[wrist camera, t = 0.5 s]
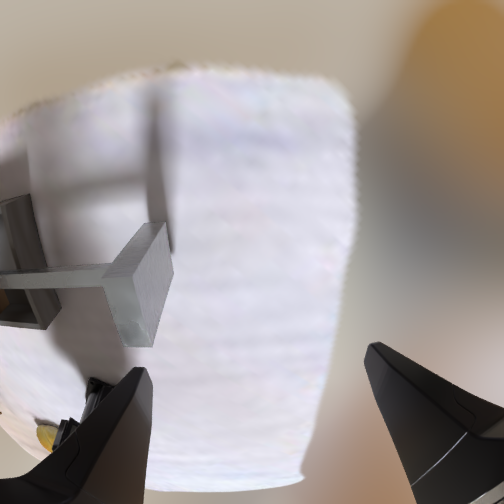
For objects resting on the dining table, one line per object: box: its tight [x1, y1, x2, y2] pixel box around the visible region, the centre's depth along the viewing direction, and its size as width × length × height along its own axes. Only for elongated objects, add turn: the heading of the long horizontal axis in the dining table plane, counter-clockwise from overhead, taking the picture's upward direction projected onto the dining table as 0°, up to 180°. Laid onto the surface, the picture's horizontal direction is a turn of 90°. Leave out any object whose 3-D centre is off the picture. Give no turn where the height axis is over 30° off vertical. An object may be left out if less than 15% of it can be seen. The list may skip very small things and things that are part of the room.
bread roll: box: [37, 424, 58, 453], centre depth 30 cm, size 8×9×4 cm
